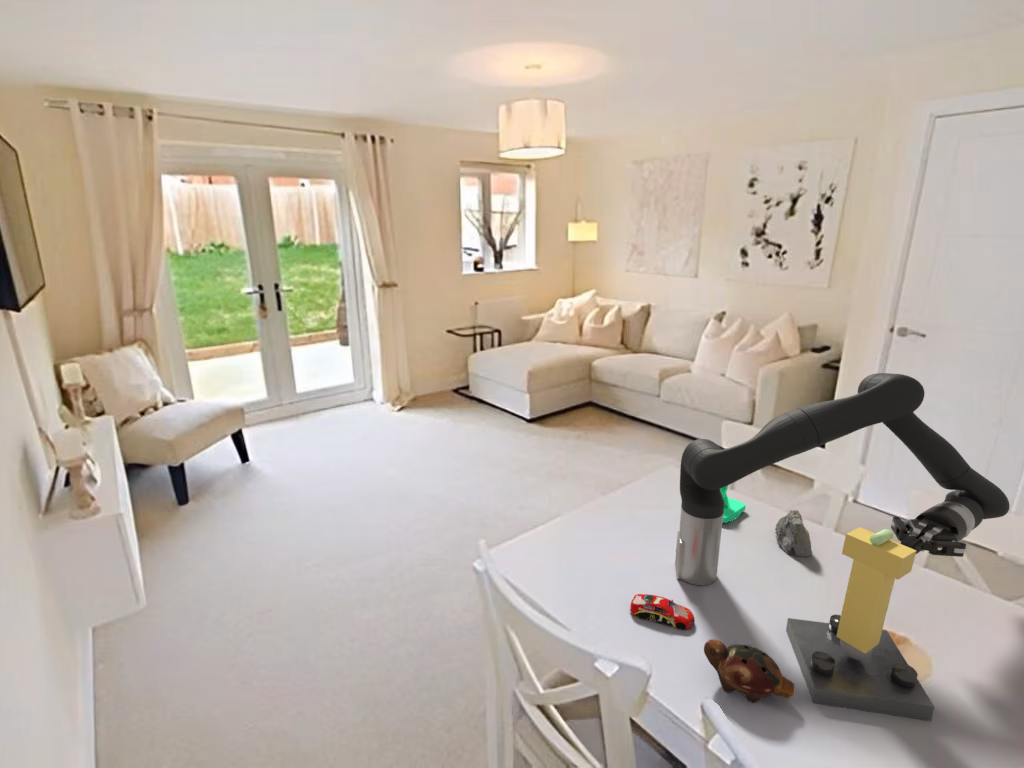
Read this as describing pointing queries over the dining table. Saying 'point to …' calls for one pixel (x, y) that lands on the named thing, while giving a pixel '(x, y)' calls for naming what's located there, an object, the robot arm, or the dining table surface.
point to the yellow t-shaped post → (870, 588)
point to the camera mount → (731, 506)
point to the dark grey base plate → (856, 672)
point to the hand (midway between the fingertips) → (906, 548)
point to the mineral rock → (793, 534)
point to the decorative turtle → (747, 671)
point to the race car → (662, 611)
